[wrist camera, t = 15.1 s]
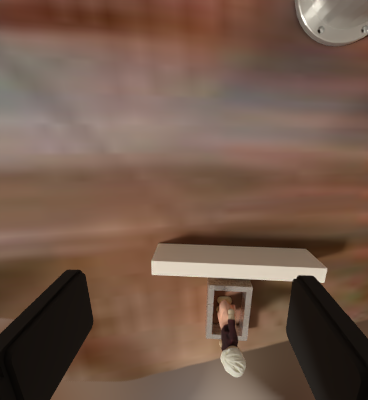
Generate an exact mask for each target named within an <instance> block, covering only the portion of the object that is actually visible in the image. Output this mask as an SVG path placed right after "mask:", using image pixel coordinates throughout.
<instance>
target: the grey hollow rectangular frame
mask: <svg viewBox="0 0 368 400" xmlns="http://www.w3.org/2000/svg"><path fill="white" fill-rule="evenodd" d="M214 290H216V291H236V292H242V301H241V311H240V322H239V325H236V333H237V336H238V340H242V341H247V335H248V326H249V317H250V308H251V299H252V291H253V286H252V284H251V281H250V279H233V278H212V277H208V285H207V306H206V327H205V328H206V338H210V339H221V327H220V324H214V323H212V319H213V302H214Z"/></svg>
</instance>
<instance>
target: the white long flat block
mask: <svg viewBox="0 0 368 400" xmlns="http://www.w3.org/2000/svg"><path fill="white" fill-rule="evenodd" d="M151 263H152V275H169V276H191V277H212V278H233V279H255V280H276V281H293V279H297V276H298V275H311V276H314V277H315V278H316V279H317V280H318V281H319V282H320V283H324V282H325V277H326V272H327V268H326V267H325V266H324V265H323V264H322V263H321V262H320V261H319V260H318V259H316V258H315V257H314V256H313V255H312V254H311V253H310V252H309V251H308V250H307V249H296V248H270V247H244V246H218V245H192V244H166V243H158V246H157V248H156V251H155V253H154V256H153V258H152V261H151Z"/></svg>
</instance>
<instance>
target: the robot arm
mask: <svg viewBox="0 0 368 400" xmlns="http://www.w3.org/2000/svg"><path fill="white" fill-rule="evenodd" d="M295 7H296V13H297V17H298V20H299V22H300V25H301V26H302V28H303V29H304V31H305V32H306V33H307V34H308V35H309V36H310V37H311V38H312V39H313V40H315V41H317V42H318V43H321V44H324V45H327V46H344V45H348V44H351V43H354V42H356V41H358V40H360V39H362V38H364V37H365V36H367V35H368V0H295ZM318 32H319V33H318ZM92 325H93V315H92V309H91V304H90V298H89V293H88V287H87V282H86V276H85V274H84V273H82V271H81V270H66V271H65V272H64V273H63V274H62V275H61V276H60V277H59V278H58V279H57V280H56V281H55V282H54V283H52V284H51V285H50V286H49V287H48V288H47V289H46V290H45V291H44V292H43V293H42V294H41V295H40V296H39V297H38V298H37V299H36V300H35V301H34V302H33V303H32V304H31V305H30V306H29V307H28V308H26V309H25V310H24V311H23V312H22V313H21V314H20V315H19V316H18V317H17V318H16V319H15V320H14V321H13V322H12V323H11V324H10V325H9V326H8V327H7V328H6V329H5V330H4V331H3V332H2V333H1V334H0V400H50V399H51V397H52V395H53V394H54V392H55V390H56V388H57V387H58V385H59V383H60V382H61V380H62V378H63V376H64V375H65V373H66V371H67V370H68V368H69V366H70V364H71V363H72V361H73V359H74V358H75V356H76V354H77V352H78V351H79V349H80V347H81V345H82V344H83V342H84V340H85V339H86V337H87V335H88V333H89V332H90V330H91V328H92ZM286 332H287V336H288V339H289V341H290V344H291V346H292V348H293V350H294V352H295V355H296V357H297V359H298V361H299V364H300V366H301V368H302V370H303V373H304V374H305V377H306V379H307V381H308V384H309V386H310V388H311V390H312V393H313V394H314V397H315V399H316V400H368V339H367V337H366V336H365V335H364V334H363V333H362V331H361V330H360V329H359V328H358V327H357V325H356V324H355V323H354V322H353V321H352V320H351V318H350V317H349V316H348V315H347V314H346V313H345V312H344V311H343V310H342V308H341V307H340V306H339V305H338V304H337V302H336V301H335V300H334V299H333V298H332V297H331V295H330V294H329V293H328V292H327V291H326V289H325V288H324V287H323V286H322V285H321V284H320V282H319V281H318V280H317V279H316V278H315V277H314V276H311V275H298V276H297V279H293V282H292V289H291V296H290V304H289V311H288V318H287V326H286Z"/></svg>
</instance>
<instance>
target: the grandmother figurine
mask: <svg viewBox="0 0 368 400" xmlns="http://www.w3.org/2000/svg"><path fill="white" fill-rule="evenodd" d="M217 302H218V303H219V304H220V305H219V306H218V307H216V312H217V313H218V319H219V324H220V327H221V340H220V342H219V344H220V346H221V348H222V354H221V362H222V364H223V366H224V368H225V370H226V371H227V372H228V373H229V374H231V375H232V376H234V377H240V376H242V375H243V373H244V371H245V368H246V363H245V359H244V357H243V354H242V352H241V350H240V349H239V348H238V347H237V344H238V336H237V333H236V309H235V305H231V303H232V299H231V297H229V296H220V297H218V299H217Z"/></svg>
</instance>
